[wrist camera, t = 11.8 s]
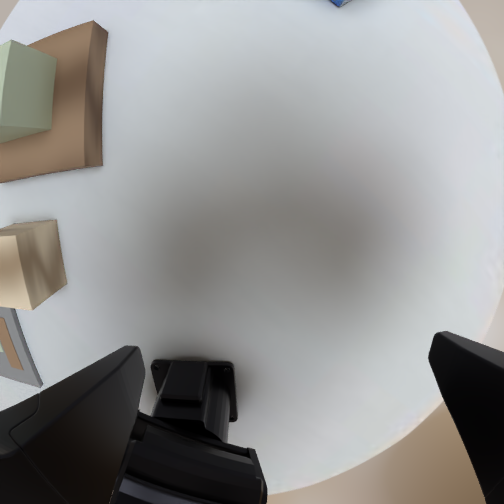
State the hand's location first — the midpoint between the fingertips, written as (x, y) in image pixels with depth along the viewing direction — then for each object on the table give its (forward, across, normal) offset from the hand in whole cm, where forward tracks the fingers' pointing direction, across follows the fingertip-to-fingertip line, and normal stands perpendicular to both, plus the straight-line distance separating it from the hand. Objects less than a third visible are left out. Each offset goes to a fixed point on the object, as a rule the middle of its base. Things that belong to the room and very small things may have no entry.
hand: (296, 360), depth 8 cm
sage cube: (+10, +16, -11) cm, 22 cm away
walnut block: (+13, +16, -11) cm, 23 cm away
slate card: (+12, +27, +9) cm, 31 cm away
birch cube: (+12, +18, 0) cm, 22 cm away
